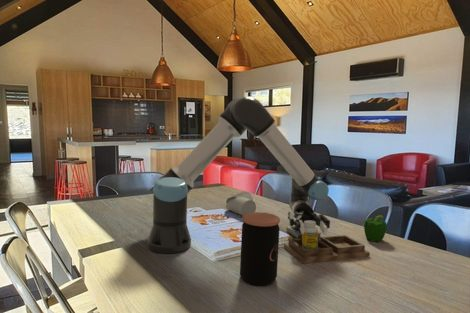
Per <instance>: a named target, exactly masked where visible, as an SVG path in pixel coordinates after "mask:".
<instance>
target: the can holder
mask: <svg viewBox="0 0 470 313" xmlns="http://www.w3.org/2000/svg"><path fill="white" fill-rule="evenodd" d="M285 229H286V232H287V233H288V235H289V234H290V235H291V236H292V238H293V237H294V239H299V238H302V233H301V231H300V229H295V225H293V226H290V225H289V226H286V228H285ZM321 233H322V232H319V231H318V239H320V237H321V235H322V234H321Z"/></svg>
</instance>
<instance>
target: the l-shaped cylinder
mask: <svg viewBox="0 0 470 313" xmlns="http://www.w3.org/2000/svg"><path fill="white" fill-rule="evenodd" d="M225 208H226V210H228V211H231V212H233V213H235V214H237V215H240V216H242V217H243V215H245V214H247V213H255V212H256V208H257V205H256V202H255V201H254V200H253V195H252V194H251V193H250V192H248V191H241V192H239V193H237V194H234V195H232V196H230V197H228V198H227V199H226V204H225Z"/></svg>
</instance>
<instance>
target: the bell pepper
mask: <svg viewBox="0 0 470 313" xmlns="http://www.w3.org/2000/svg"><path fill="white" fill-rule="evenodd" d="M380 218H381V219H380ZM383 218H384V216H383V215H377V216H375V218H374V219H373V218H371V217H370V218H368V219H367V218H366V219H365V220H364V222H363V230H364V235H365V237H366V239H368V240H370V241H371V242H377V243H378V242H380V241H382V240H383V239H384V238H385V235H386V232H387V229H388V227H387V226H388V224H387V221H384V220H383Z"/></svg>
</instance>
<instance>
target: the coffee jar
mask: <svg viewBox="0 0 470 313" xmlns="http://www.w3.org/2000/svg"><path fill="white" fill-rule="evenodd" d="M242 222H243V223H242V225H241V243H240V264H239V267H240V268H239V275H240V278H241V279H242V280H243V282H244V283H246V284H248V285H250V286H255V287H265V286H270V285H272V284H273V283H274V281H276V279H277V277H278V260H279V246H280V245H279V244H280V243H279V242H280V241H279V240H280V226H279V224H280V222H281V219H280V216H278V215H275V214H272V213H270V212H269V213H268V212H259V211H258V212H256V211H255V213H247V214H245V215H243V216H242Z"/></svg>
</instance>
